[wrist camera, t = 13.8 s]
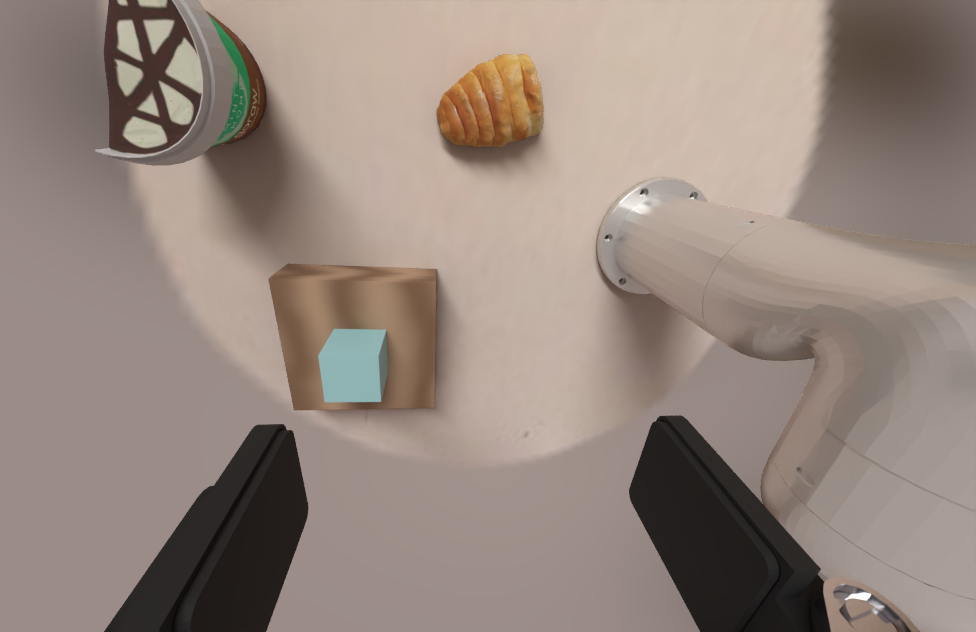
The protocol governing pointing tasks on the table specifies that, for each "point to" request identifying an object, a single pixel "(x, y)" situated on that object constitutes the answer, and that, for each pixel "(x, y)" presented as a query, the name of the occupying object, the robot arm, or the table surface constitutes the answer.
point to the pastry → (493, 104)
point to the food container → (176, 82)
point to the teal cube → (354, 365)
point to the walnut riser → (358, 305)
